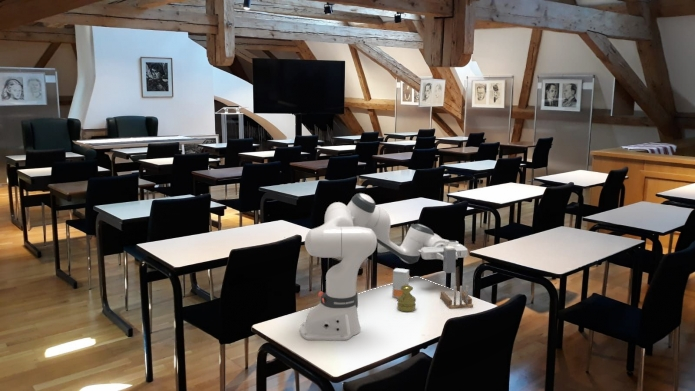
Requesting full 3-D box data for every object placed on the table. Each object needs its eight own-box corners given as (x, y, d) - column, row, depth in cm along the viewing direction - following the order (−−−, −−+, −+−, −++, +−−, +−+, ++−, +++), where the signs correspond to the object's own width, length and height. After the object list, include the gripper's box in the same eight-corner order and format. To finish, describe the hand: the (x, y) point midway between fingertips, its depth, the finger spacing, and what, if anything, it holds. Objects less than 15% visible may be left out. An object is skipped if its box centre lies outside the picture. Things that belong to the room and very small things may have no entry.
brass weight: (414, 312, 226) (415, 289, 224) (395, 311, 227) (396, 287, 225) (416, 305, 233) (417, 282, 231) (398, 304, 234) (398, 281, 232)
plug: (446, 273, 241) (446, 248, 239) (443, 270, 245) (443, 246, 243) (455, 272, 241) (455, 248, 239) (452, 269, 245) (452, 245, 243)
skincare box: (392, 297, 242) (392, 270, 240) (395, 294, 246) (395, 267, 244) (405, 299, 240) (406, 272, 237) (408, 296, 243) (409, 269, 241)
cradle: (449, 309, 229) (450, 287, 228) (440, 298, 241) (440, 278, 239) (473, 307, 231) (474, 286, 229) (462, 297, 242) (463, 276, 240)
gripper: (417, 243, 252) (426, 252, 239) (460, 240, 256) (472, 249, 242) (416, 256, 254) (426, 266, 240) (460, 254, 257) (472, 263, 244)
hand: (449, 258), depth 241 cm, fingers closed on plug, 4 cm apart
